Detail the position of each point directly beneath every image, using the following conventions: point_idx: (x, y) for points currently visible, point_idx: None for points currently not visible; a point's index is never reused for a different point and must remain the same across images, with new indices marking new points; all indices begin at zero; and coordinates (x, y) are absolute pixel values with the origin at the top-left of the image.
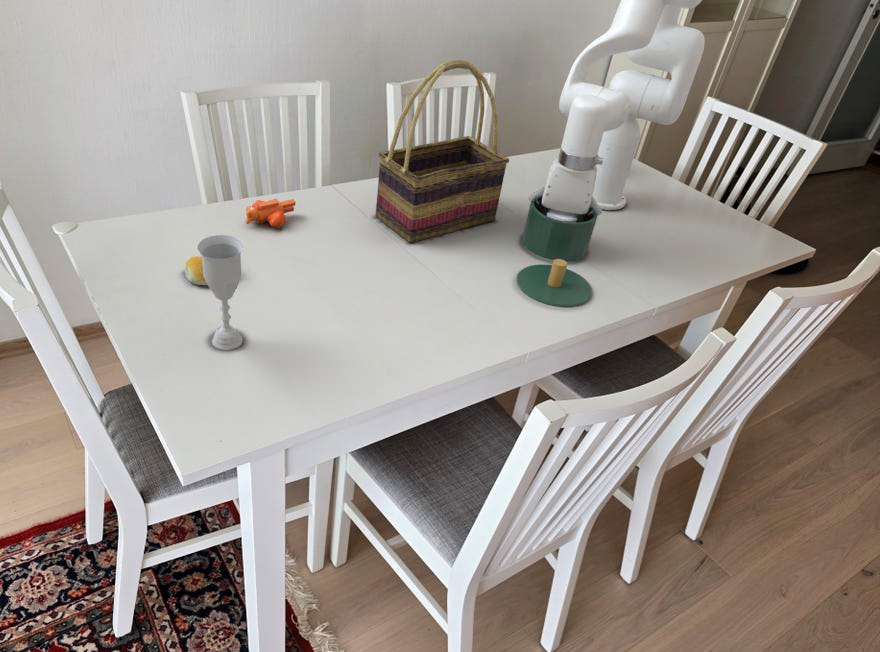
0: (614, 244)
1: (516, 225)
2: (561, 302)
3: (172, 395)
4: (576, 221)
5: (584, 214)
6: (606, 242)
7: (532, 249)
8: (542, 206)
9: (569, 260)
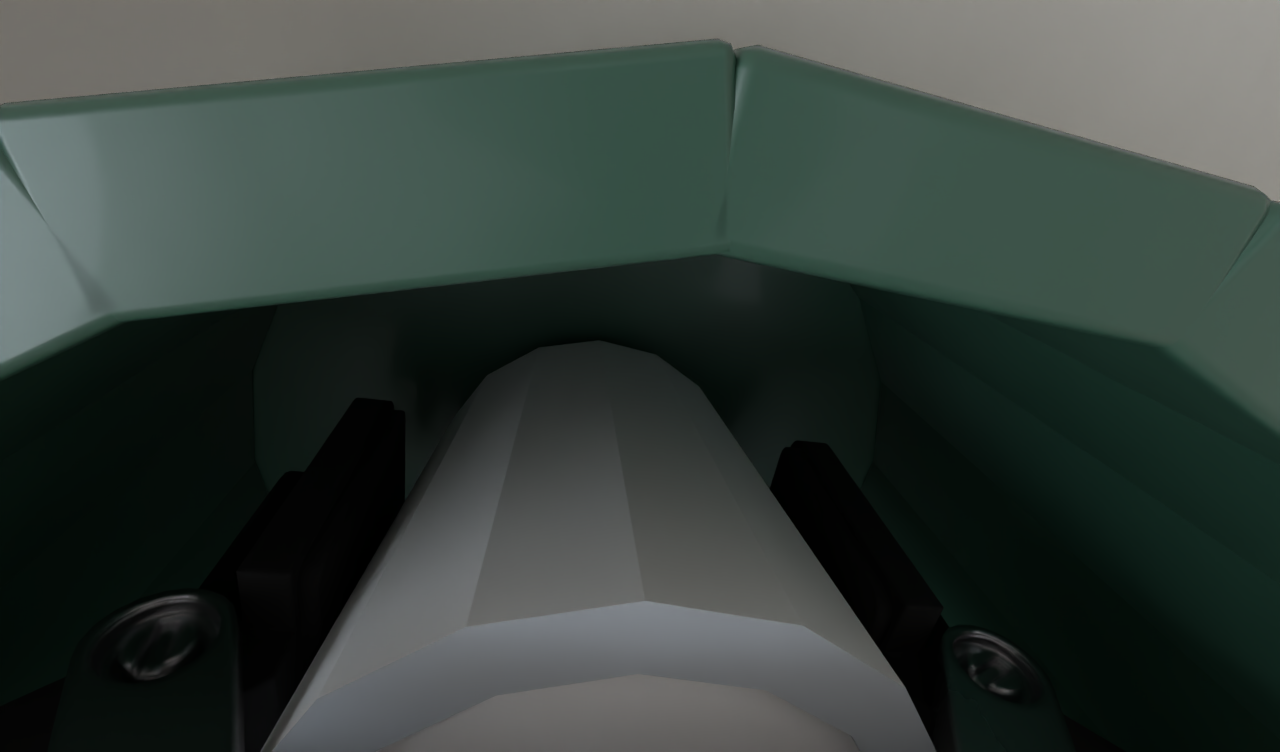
0: (1270, 181)
1: (25, 10)
2: None
3: None
4: (877, 645)
5: (1133, 475)
6: (1201, 159)
7: None
8: (87, 356)
9: None
